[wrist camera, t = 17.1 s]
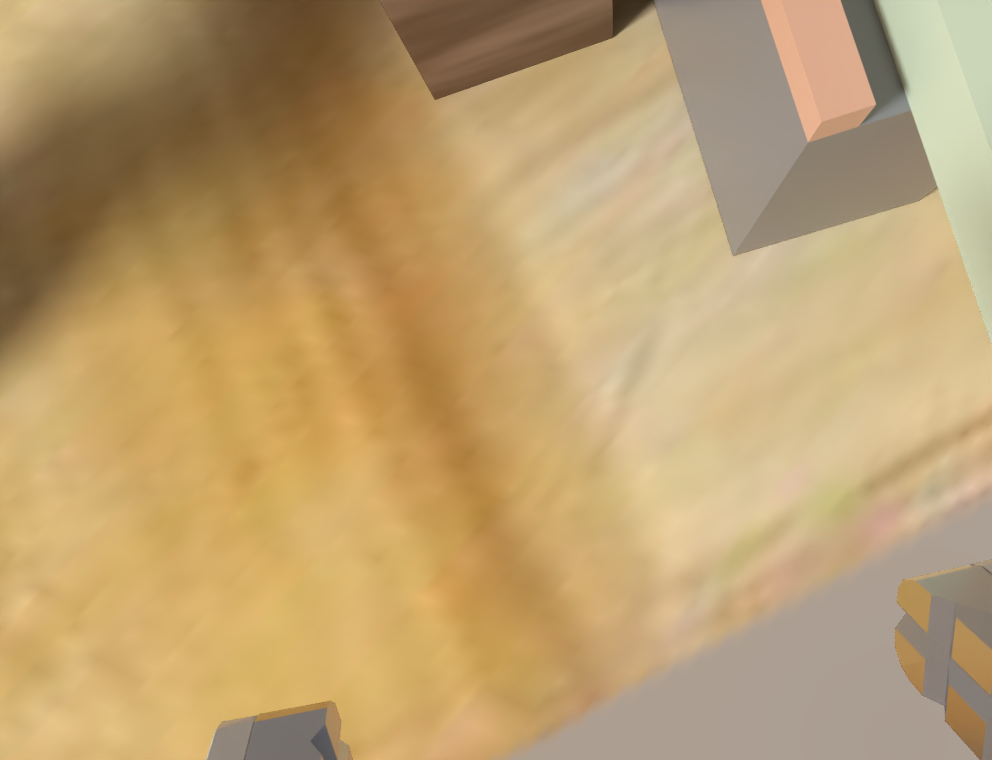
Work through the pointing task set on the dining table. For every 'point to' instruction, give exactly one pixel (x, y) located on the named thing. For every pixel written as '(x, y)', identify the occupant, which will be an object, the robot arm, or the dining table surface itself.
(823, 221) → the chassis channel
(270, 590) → the dining table surface
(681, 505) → the dining table surface
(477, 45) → the walnut stand
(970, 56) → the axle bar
